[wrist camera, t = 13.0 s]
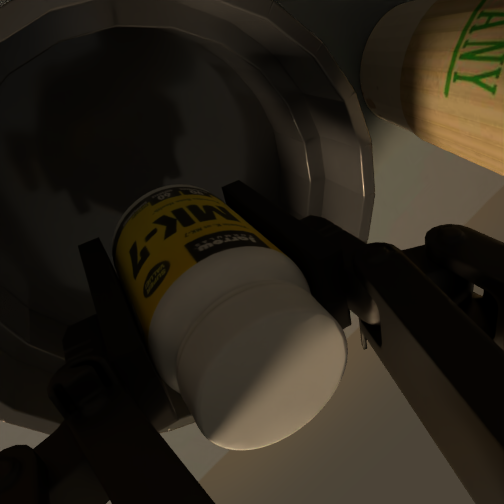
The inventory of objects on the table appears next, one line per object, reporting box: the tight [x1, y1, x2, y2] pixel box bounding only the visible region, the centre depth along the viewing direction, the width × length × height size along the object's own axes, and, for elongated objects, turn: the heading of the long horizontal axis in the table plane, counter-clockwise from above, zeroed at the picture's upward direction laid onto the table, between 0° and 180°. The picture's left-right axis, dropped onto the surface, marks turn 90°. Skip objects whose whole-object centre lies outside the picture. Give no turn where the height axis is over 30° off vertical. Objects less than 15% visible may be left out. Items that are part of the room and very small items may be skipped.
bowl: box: [0, 0, 375, 435], centre depth 18 cm, size 17×17×6 cm
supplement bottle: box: [112, 184, 348, 450], centre depth 13 cm, size 5×5×8 cm
